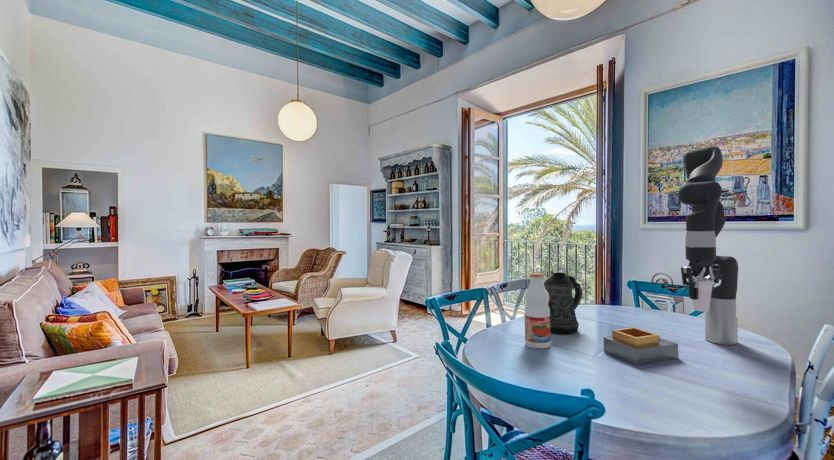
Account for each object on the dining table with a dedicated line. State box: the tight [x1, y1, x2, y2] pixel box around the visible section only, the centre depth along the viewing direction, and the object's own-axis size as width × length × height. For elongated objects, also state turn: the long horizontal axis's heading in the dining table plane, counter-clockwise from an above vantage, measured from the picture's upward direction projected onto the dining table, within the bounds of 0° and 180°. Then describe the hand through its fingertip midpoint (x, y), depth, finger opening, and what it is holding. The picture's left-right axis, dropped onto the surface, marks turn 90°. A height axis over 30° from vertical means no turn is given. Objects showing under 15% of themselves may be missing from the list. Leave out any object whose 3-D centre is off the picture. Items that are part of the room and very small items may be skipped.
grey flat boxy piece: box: [603, 326, 679, 366], centre depth 125 cm, size 21×14×8 cm, turn 106°
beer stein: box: [543, 272, 583, 336], centre depth 157 cm, size 16×19×25 cm
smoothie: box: [691, 277, 714, 313], centre depth 111 cm, size 6×6×14 cm
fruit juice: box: [524, 272, 552, 350], centre depth 136 cm, size 9×9×28 cm
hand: (701, 298), depth 111 cm, fingers closed on smoothie, 6 cm apart
